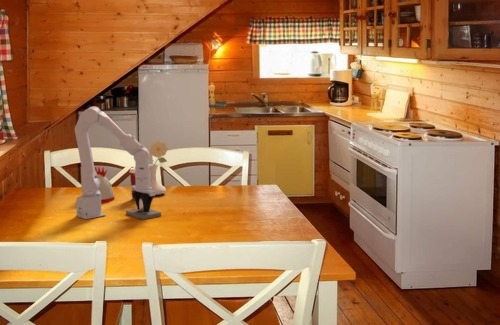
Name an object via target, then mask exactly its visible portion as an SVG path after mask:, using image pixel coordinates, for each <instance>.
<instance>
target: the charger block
mask: <svg viewBox="0 0 500 325" xmlns="http://www.w3.org/2000/svg"><path fill="white" fill-rule="evenodd" d="M125 215H128V216H130V217H133V218H136V219H139V220H141V221H144V220H149V219H154V218H158V217H161V216H162V212H161V211H157V210H155V209H153V208H150V210H149V211H148V212H147V213H139V210H138V209H137V208H134V209H133V208H132V209H128V210H127V209H126V210H125Z"/></svg>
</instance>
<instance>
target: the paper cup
mask: <svg viewBox="0 0 500 325" xmlns="http://www.w3.org/2000/svg"><path fill="white" fill-rule="evenodd" d="M128 173H129V175H130V187H131V186H133V185H136V182H135V166H134V167H130V169H129V172H128ZM134 192H135V191H132V190H131V194H132V193H134ZM131 197H132V200H133V201H135V199H134V197H133V196H132V195H131Z"/></svg>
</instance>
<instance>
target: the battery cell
mask: <svg viewBox="0 0 500 325" xmlns="http://www.w3.org/2000/svg"><path fill="white" fill-rule="evenodd" d="M139 213H147V212H144V209H143V202H142V199H141V198H139Z"/></svg>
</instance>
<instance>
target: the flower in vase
mask: <svg viewBox="0 0 500 325" xmlns="http://www.w3.org/2000/svg"><path fill="white" fill-rule="evenodd" d="M148 151H149V153H150V156H152V157H154V158H155V157H156V161H155V160H153V159H151V158H149V160H150V161H152V162H154V163H149V171H150V187H152V190H154V191H155V196H159V195H162V194H165V193H166V192H167V189H166V187H165V186H164V185H163V184H161V183H160V182H158V181H157V170H158V167H159V163H161V164H163V163H166V162H167V163H168V160H167V159H166V158H165V157H163V156H166V153H168V146H167V144H166V142H163V141H160V140H158V141H154V142H153V143H151V145H150V147H149V149H148ZM158 161H159V163H157V162H158Z"/></svg>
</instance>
